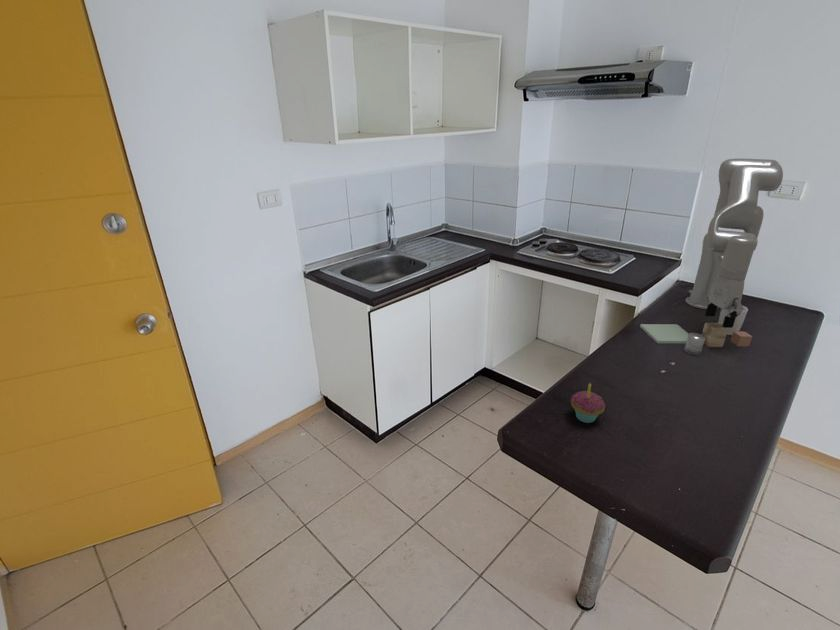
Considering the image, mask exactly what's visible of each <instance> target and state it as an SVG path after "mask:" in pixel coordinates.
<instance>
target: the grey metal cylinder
mask: <svg viewBox="0 0 840 630" xmlns="http://www.w3.org/2000/svg"><path fill="white" fill-rule="evenodd" d="M704 341H705V336H703V335H702V333H701V334H700V333H698V332H697V333H696V332H689V333H688V337H687V341H686V344H685V345H684V348H683V351H684V352H685V353H687V354H688V355H693V356H699V355H700V356H701V354H702V350H703V347H704V345H705V344H704Z"/></svg>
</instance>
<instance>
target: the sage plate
mask: <svg viewBox="0 0 840 630" xmlns="http://www.w3.org/2000/svg"><path fill="white" fill-rule="evenodd" d="M639 327H640V329H642V330H643V331H644V332H645V333H646V334H647V335H648V336H649V337H650V338H651V339H652V340H653V341H654V342H656V344H681V345H682V344H685V345H686V341H687V337H688V334H689V333H688V332H687V331H686V330H685V329H684V328H682V327H681V326H680V325H678V324H675V323H674V324H673V323H672V324H670V323H669V324H668V323H667V324H664V323H663V324H661V323H660V324H659V323H657V324H656V323H655V324H654V323H653V324H652V323H651V324H649V323H648V324H645V323H641V324H640V325H639Z"/></svg>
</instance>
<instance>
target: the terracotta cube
mask: <svg viewBox="0 0 840 630" xmlns="http://www.w3.org/2000/svg"><path fill="white" fill-rule="evenodd" d="M752 339H753V336H752V335H750V333H748V332H746V331H742V330H741V331H740V330H739V331H733V334H732V335H731V337H730V342H731V344H734V345H735V346H736V347H741V348H742V347H745V348H746V347H750V345H751V342H752Z"/></svg>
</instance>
